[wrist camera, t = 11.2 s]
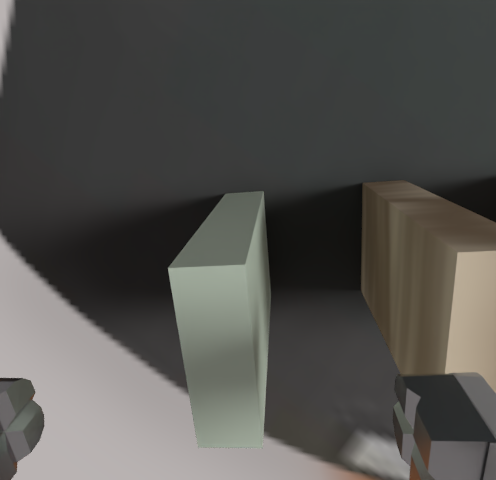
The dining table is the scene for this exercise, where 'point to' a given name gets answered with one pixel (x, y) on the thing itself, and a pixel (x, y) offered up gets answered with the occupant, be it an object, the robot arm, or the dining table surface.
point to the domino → (430, 280)
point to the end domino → (226, 321)
